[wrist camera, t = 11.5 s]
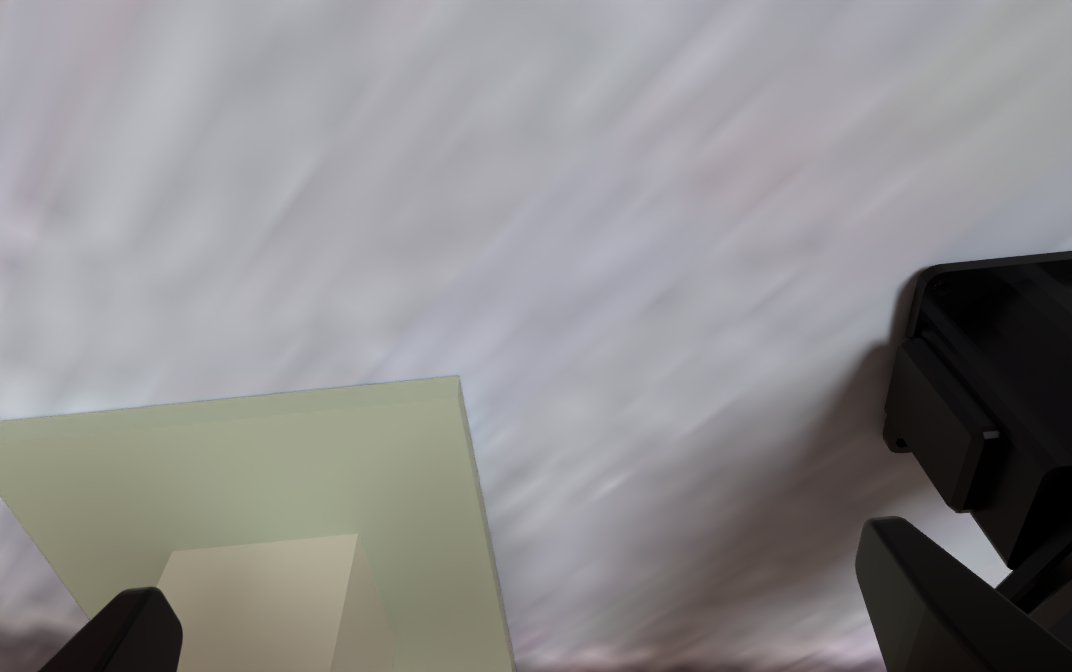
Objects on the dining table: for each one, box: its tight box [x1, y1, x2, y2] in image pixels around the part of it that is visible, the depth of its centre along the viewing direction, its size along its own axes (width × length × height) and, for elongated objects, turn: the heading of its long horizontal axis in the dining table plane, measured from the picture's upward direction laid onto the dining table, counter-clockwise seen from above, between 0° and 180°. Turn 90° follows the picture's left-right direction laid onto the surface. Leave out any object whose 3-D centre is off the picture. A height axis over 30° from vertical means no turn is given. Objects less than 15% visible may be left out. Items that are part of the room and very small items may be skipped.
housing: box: [156, 534, 396, 672], centre depth 23 cm, size 6×6×5 cm
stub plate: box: [0, 376, 516, 672], centre depth 25 cm, size 14×16×4 cm
